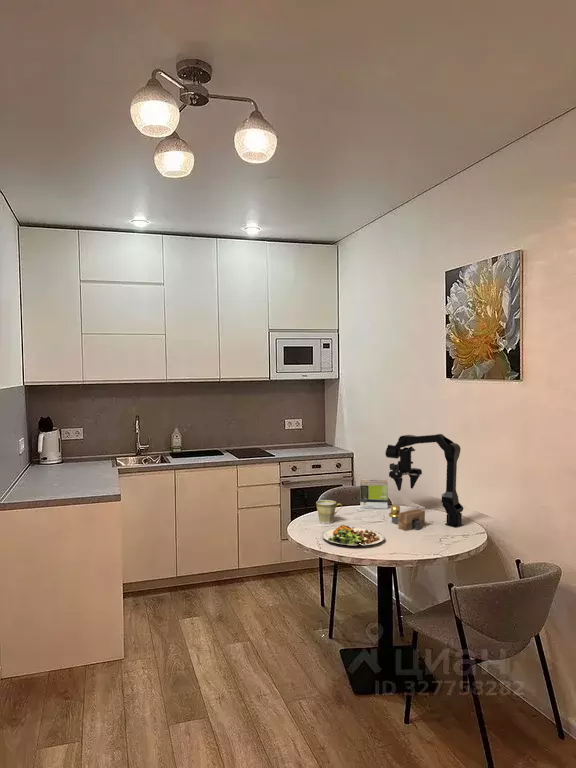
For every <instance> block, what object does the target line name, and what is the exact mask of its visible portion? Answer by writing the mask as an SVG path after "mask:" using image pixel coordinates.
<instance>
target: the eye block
mask: <svg viewBox="0 0 576 768" xmlns="http://www.w3.org/2000/svg"><path fill="white" fill-rule="evenodd" d="M425 517H426V511H425V510H421V509H418V508H416V509H411V510H406V511H400V513H399V523H398V524H397V525H398V529H399V530H402V531H412V530H413V528H412V520H420V521H421V528H425V527H424V526H426V524H425V523H426V522H425V521H426V518H425Z"/></svg>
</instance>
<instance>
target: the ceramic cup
mask: <svg viewBox="0 0 576 768" xmlns="http://www.w3.org/2000/svg"><path fill="white" fill-rule="evenodd" d="M315 505H316V509H317V515H318V520H319V523H320V524H322V523H324V524H323V525H326V524H327V525H330V523H331V524H333V523H334V519H335V515H336V514H337V513H338V512H339V511H340V510H341V509H342V508H343V504H342V503H339V502H338V503H337V501H335V500H331V499H320V500H317V501H316V502H315ZM339 505H340V508H339V509H338V510H336V509H337V507H338V506H339Z"/></svg>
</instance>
